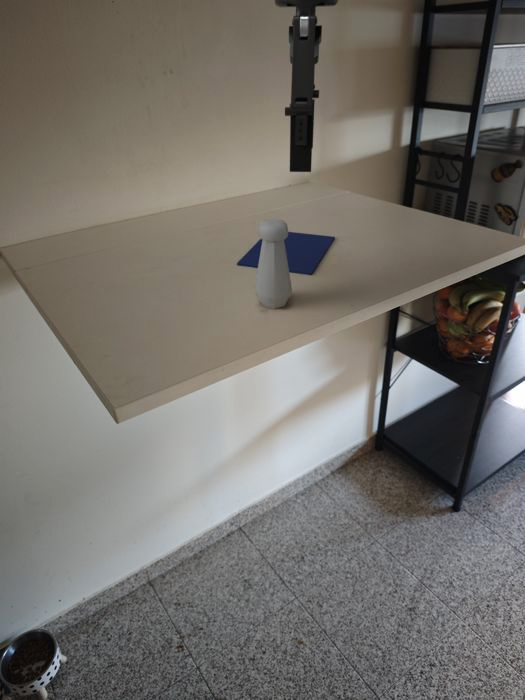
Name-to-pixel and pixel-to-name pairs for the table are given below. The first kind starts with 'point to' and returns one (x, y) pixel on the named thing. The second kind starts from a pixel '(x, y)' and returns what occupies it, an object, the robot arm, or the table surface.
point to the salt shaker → (273, 265)
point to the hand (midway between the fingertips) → (302, 159)
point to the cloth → (295, 252)
